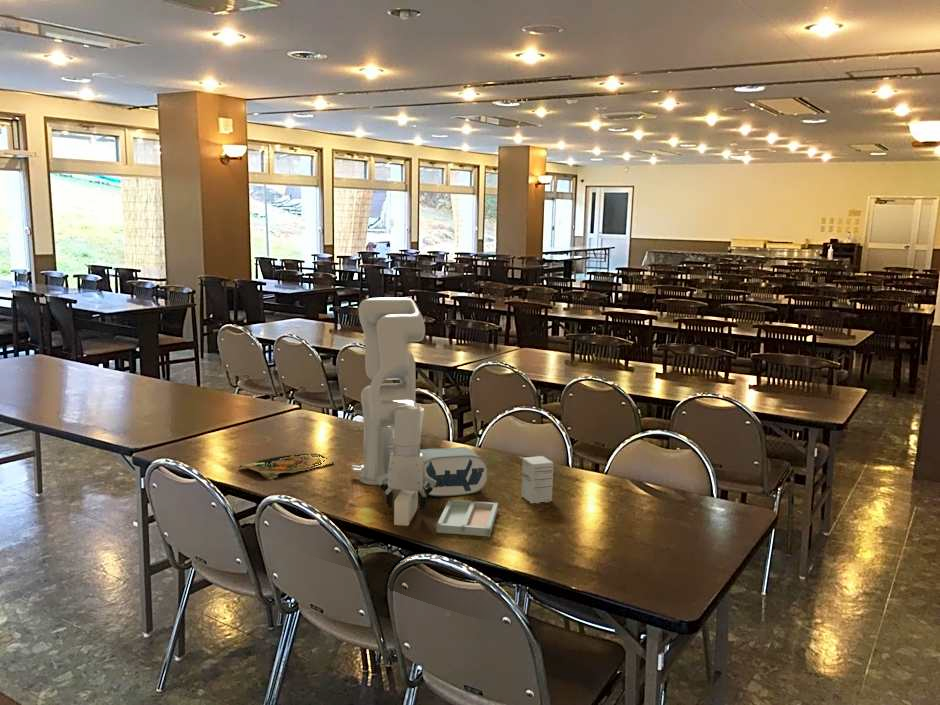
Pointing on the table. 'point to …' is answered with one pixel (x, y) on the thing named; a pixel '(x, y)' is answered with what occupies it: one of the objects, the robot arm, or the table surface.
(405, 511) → the upright beige block
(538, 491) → the stacked block tower
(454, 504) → the divided serving tray
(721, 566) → the table surface
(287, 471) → the prepared meal
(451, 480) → the pencil case
